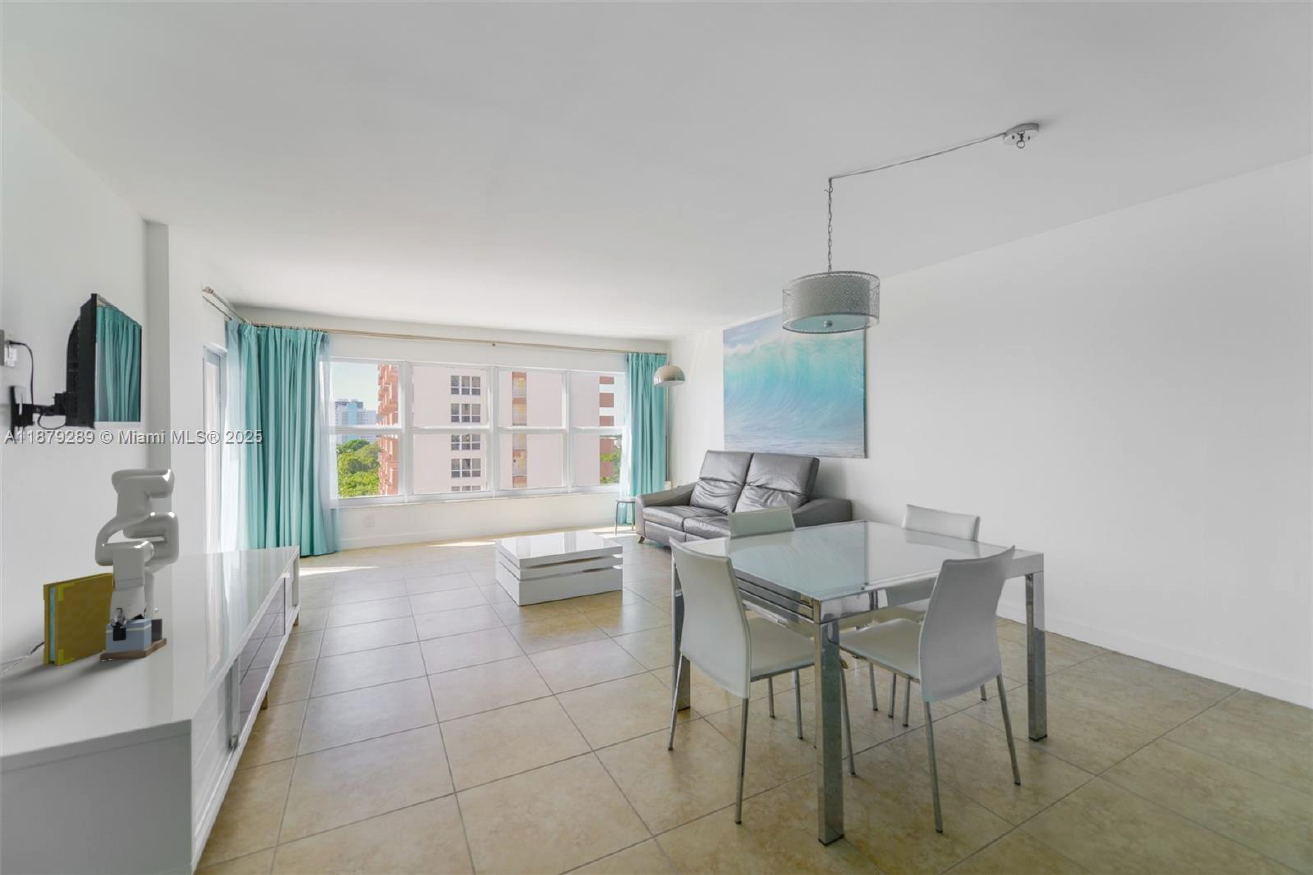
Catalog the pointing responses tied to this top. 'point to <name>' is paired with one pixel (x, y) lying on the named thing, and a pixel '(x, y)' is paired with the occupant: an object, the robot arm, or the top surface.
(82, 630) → the book
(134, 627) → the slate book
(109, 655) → the brown l-shaped piece
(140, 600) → the robot arm
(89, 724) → the top surface
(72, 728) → the top surface
